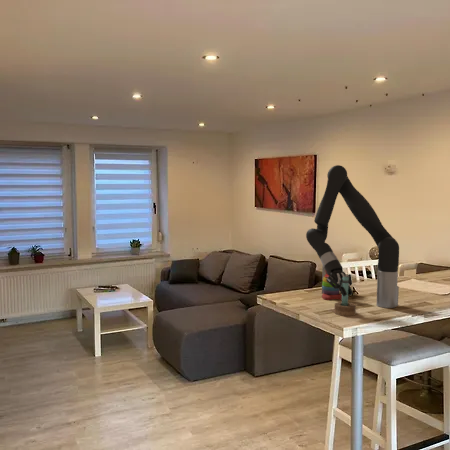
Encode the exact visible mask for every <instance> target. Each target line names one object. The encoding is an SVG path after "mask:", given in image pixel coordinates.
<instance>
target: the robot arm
mask: <svg viewBox="0 0 450 450" xmlns="http://www.w3.org/2000/svg"><path fill="white" fill-rule="evenodd" d="M326 175H327V182H326V188H325V190H324V194H323V196H322V198H321V201H320V203H319V205H318V208H317V210H316V212H315V213H316V214H315V217H314V223H315V224H316V228H309V229H307V231H306V232H305V233H306V234H305V237H306V240H307V242H308V244H309V245H310V247H311V248H312V249H313V251H315V253H316V254H317V256H318V259H319V260H320V262H321V265H322V266H324V268H325V270H326V272H327V274H328V275H329V277H328V278H327V279H326V281H327V282H328V283H329V284H330V285H331V286H333V287H334V288H335V289H336V288H337V289H339V290H340V292H339V293H340V294H341V295H343V296H346V295H347V293H346V291H345V289H344V287H343V286H342V277H349V285H348V296H352V295H353V293H354V292H353V290H352V288H351V286H352V285H353V277H352V274H351V273H349V274H346V272H345V271H344V269H343V266H342V264H341V262H340V260H339V259H338V257H337V255H336V254H335V253H334V251H333V249H332V248H331V247H332V246H330V245H329V244H328V243H326V240H327V238H328V232H329V231H328V230H329V223H330V220H331V216H332V214H333V211H334V207H335V204H336V201H337V198H338V195H341V197H342V198H343V200H344V202H345V204H346V205H347V208H348V209H349V210H350V212H351V214H352V215H353V216H354V218H355V219H356V221H357V222H358V223H359V224H360V226H361V227H362V228H363V229H365V230H366V232H367V233H369V235H370V236H371V238H372V239H373V242H374V243H375V244H376V247H377V248H378V252H377V253H378V255H377V258H378V259H377V275H376V276H377V278H376V279H377V280H376V284H377V285H376V306H377V307H380V308H386V309H391V308H393V309H394V308H396V307H397V306H399V288H400V287H399V285H398V280H399V279H398V274H399V264H400V263H399V262H400V245H399V243H398V241H397V239H395V237H393V236H392V235H391V234H390V232H388V231H387V229H386V228H385V227H384V225H383V223H382V222H381V220H380V217H379V216H378V214H377V213H376V211H375V209H374V208H373V206H372V205H371V203H370V202H369V201H368V200H367V199H366V198H365V197H364V195H363V194H362V193H361V192H360V191H359V190H357V188H355V186H354V185H353V184H352V182H351V180H350V178H349V176H348V170H347V168H346V167H344V166H343V165H339V164H336V165H333V166H331V167H330V169H329V170H328V171H327V173H326ZM333 283H334V284H335V285H334V284H333Z"/></svg>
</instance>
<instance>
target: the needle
mask: <svg viewBox="0 0 450 450" xmlns="http://www.w3.org/2000/svg"><path fill="white" fill-rule="evenodd" d="M348 285H349V277H342V286H343V287H344V289H345V291H346V293H347V295H346V296H343V295H342V294H341V295H342V299H341V302H342V306H348V303H349V294H348Z"/></svg>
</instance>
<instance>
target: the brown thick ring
mask: <svg viewBox="0 0 450 450" xmlns="http://www.w3.org/2000/svg"><path fill="white" fill-rule="evenodd" d="M356 307H357V305H356V304H355V303H352V302H348V306H342V301H339V302H336V303H334V314H335V315H337V316H342V317H353V316H355V315H356V309H357V308H356Z"/></svg>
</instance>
